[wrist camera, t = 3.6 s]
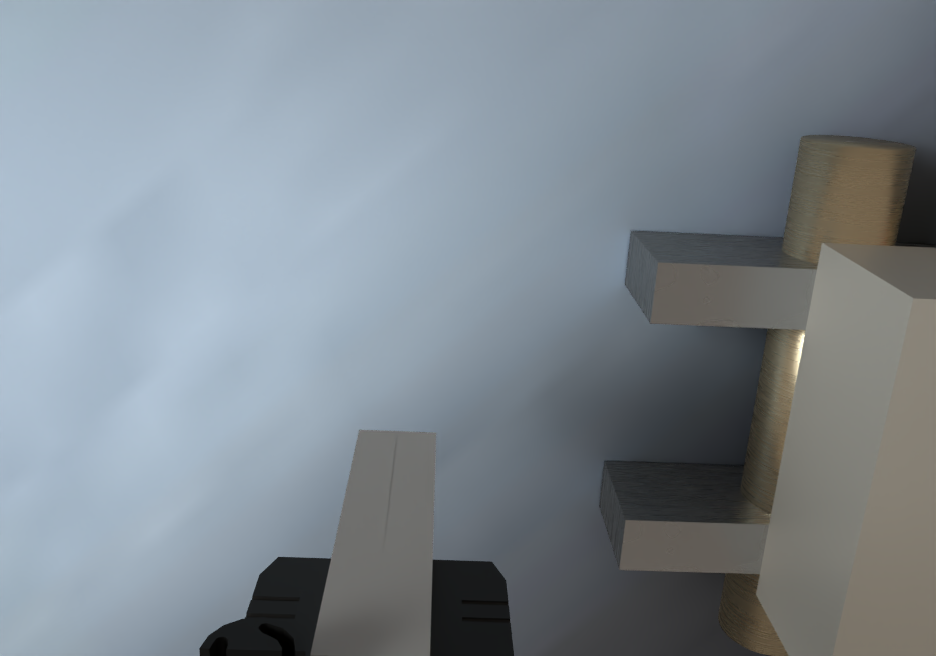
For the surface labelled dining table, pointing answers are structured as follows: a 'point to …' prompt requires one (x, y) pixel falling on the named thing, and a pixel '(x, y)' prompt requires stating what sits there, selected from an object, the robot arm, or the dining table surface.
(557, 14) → the dining table surface
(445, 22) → the dining table surface
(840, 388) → the paver
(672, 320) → the rack with metal cylinders
